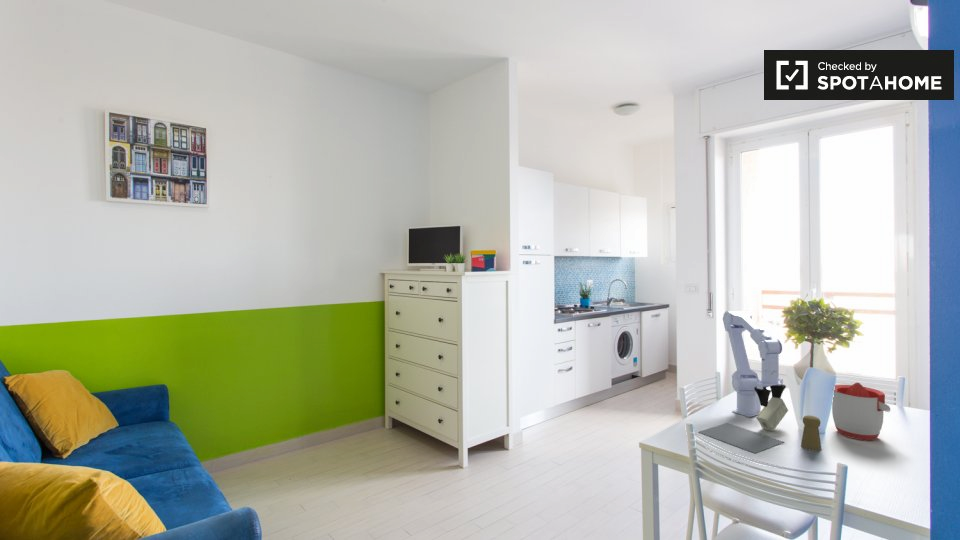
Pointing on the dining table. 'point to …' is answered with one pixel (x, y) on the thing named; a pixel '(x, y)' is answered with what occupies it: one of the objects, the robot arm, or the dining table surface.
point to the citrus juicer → (858, 411)
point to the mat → (741, 437)
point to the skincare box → (772, 414)
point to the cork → (811, 433)
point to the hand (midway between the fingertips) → (769, 404)
